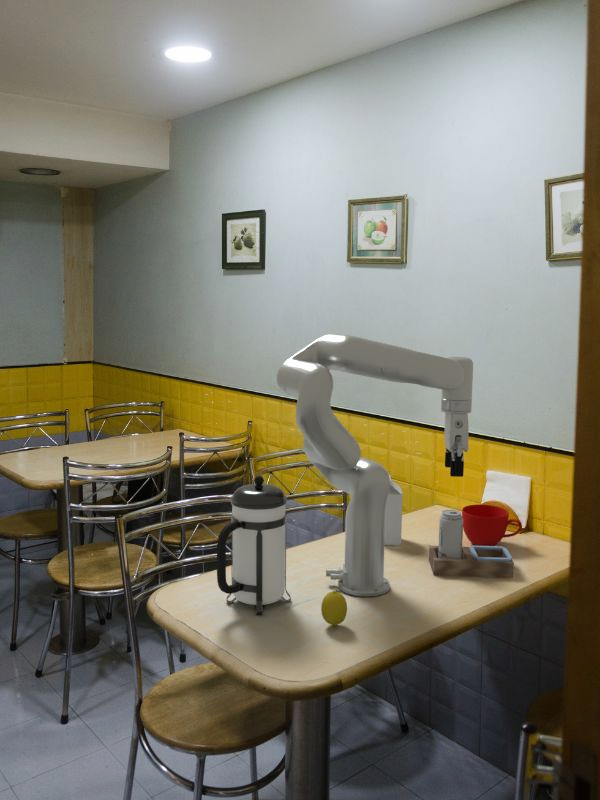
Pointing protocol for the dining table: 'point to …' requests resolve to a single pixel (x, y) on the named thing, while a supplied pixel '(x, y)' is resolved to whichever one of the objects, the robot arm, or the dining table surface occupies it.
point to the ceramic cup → (486, 524)
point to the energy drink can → (450, 535)
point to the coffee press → (255, 545)
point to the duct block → (474, 562)
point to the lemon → (334, 608)
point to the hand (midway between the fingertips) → (453, 471)
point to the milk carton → (393, 515)
